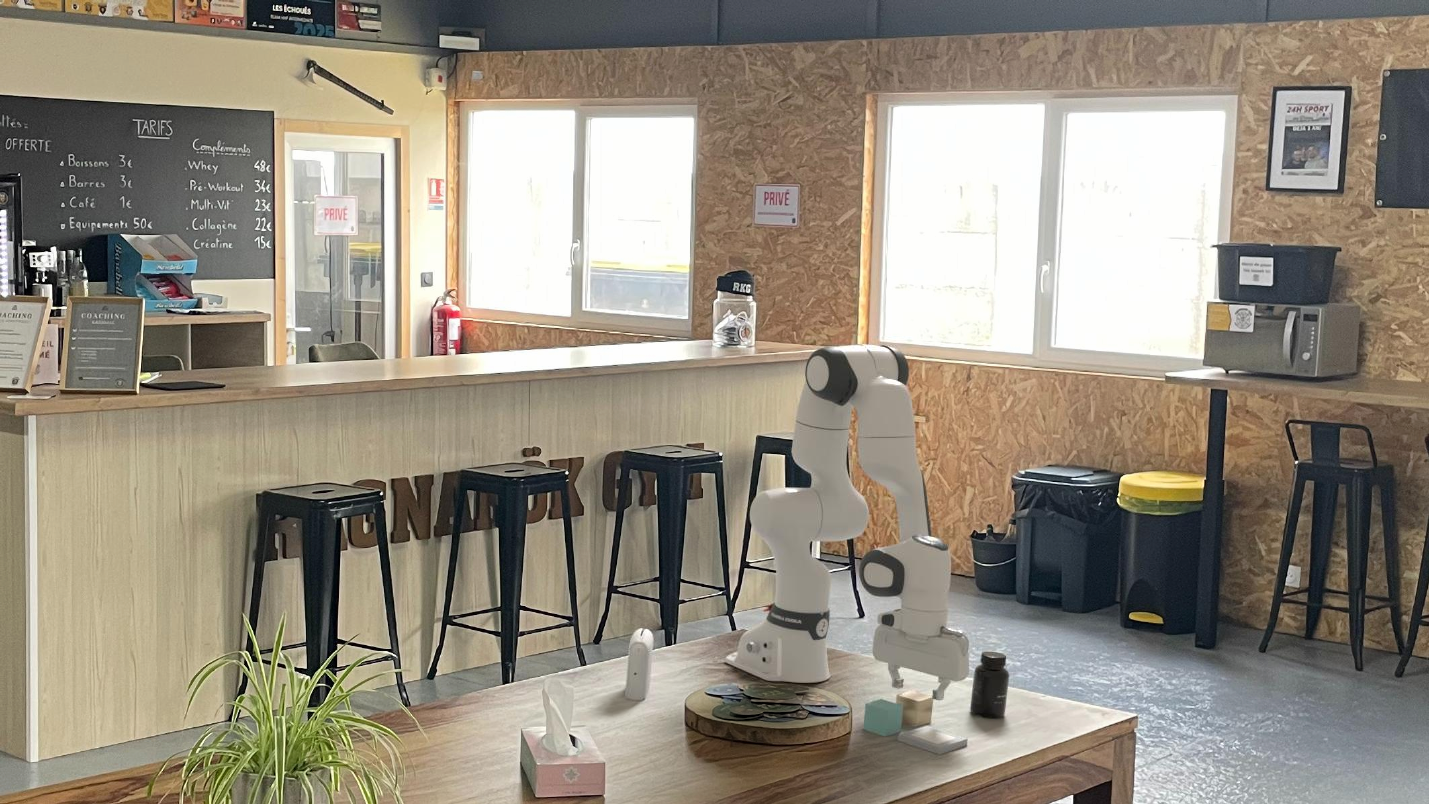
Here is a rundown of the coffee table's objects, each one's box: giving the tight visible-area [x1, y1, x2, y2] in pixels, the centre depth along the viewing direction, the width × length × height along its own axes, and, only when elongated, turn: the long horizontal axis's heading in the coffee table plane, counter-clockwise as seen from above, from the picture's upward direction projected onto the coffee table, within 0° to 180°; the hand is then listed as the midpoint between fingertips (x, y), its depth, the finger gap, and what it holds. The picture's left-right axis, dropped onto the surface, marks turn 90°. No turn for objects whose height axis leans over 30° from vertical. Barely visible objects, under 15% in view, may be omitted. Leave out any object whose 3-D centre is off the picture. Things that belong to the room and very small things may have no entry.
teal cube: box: [862, 698, 903, 737], centre depth 295 cm, size 5×5×5 cm
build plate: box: [898, 725, 968, 755], centre depth 290 cm, size 9×9×1 cm
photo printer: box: [624, 628, 654, 701], centre depth 305 cm, size 10×4×12 cm, turn 177°
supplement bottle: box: [969, 650, 1010, 719], centre depth 310 cm, size 7×7×12 cm
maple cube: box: [895, 690, 934, 727], centre depth 302 cm, size 5×5×5 cm
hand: (917, 693), depth 301 cm, fingers open, 8 cm apart
